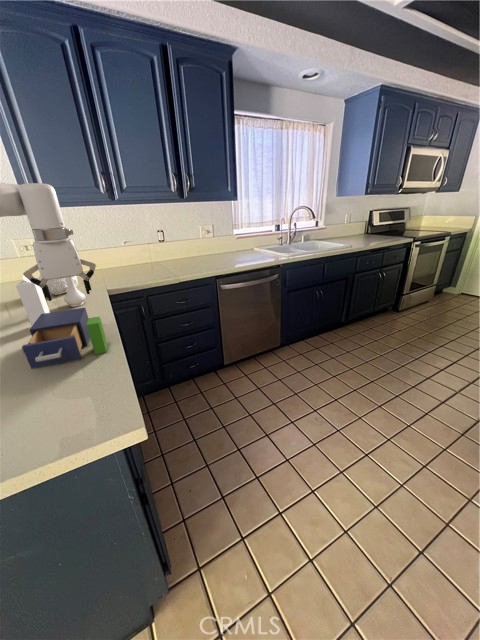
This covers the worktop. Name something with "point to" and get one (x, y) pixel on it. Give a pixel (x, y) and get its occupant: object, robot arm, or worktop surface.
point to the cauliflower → (59, 285)
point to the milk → (32, 299)
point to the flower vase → (73, 294)
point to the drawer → (54, 346)
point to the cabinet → (64, 321)
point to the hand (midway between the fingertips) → (69, 296)
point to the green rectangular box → (97, 335)
